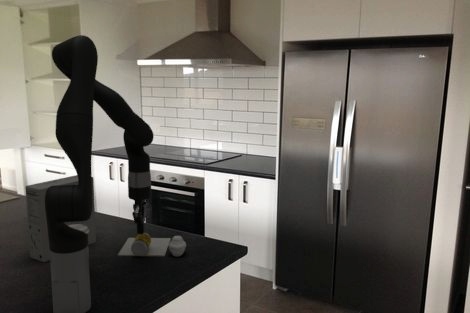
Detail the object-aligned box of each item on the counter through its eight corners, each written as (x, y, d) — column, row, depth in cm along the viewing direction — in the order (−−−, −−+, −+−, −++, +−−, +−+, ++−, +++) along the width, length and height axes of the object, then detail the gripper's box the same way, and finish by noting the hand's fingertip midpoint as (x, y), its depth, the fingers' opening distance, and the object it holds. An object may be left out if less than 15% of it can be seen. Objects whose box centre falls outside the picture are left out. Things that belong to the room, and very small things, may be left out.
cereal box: (82, 238, 158) (79, 174, 154) (96, 242, 154) (93, 176, 150) (29, 257, 140) (24, 185, 135) (44, 263, 136) (39, 189, 131)
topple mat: (164, 256, 143) (164, 255, 143) (117, 255, 142) (117, 254, 142) (170, 239, 158) (170, 238, 158) (128, 238, 158) (128, 237, 158)
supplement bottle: (134, 238, 140) (140, 228, 150) (128, 252, 141) (134, 241, 151) (149, 245, 140) (154, 234, 151) (143, 259, 141) (148, 247, 151)
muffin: (175, 259, 140) (175, 240, 139) (164, 254, 144) (164, 235, 143) (190, 254, 144) (189, 235, 143) (178, 249, 149) (178, 231, 147)
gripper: (147, 189, 132) (148, 240, 135) (154, 179, 145) (155, 226, 148) (123, 188, 131) (124, 240, 135) (132, 179, 144) (134, 226, 148)
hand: (140, 233), depth 141 cm, fingers closed
